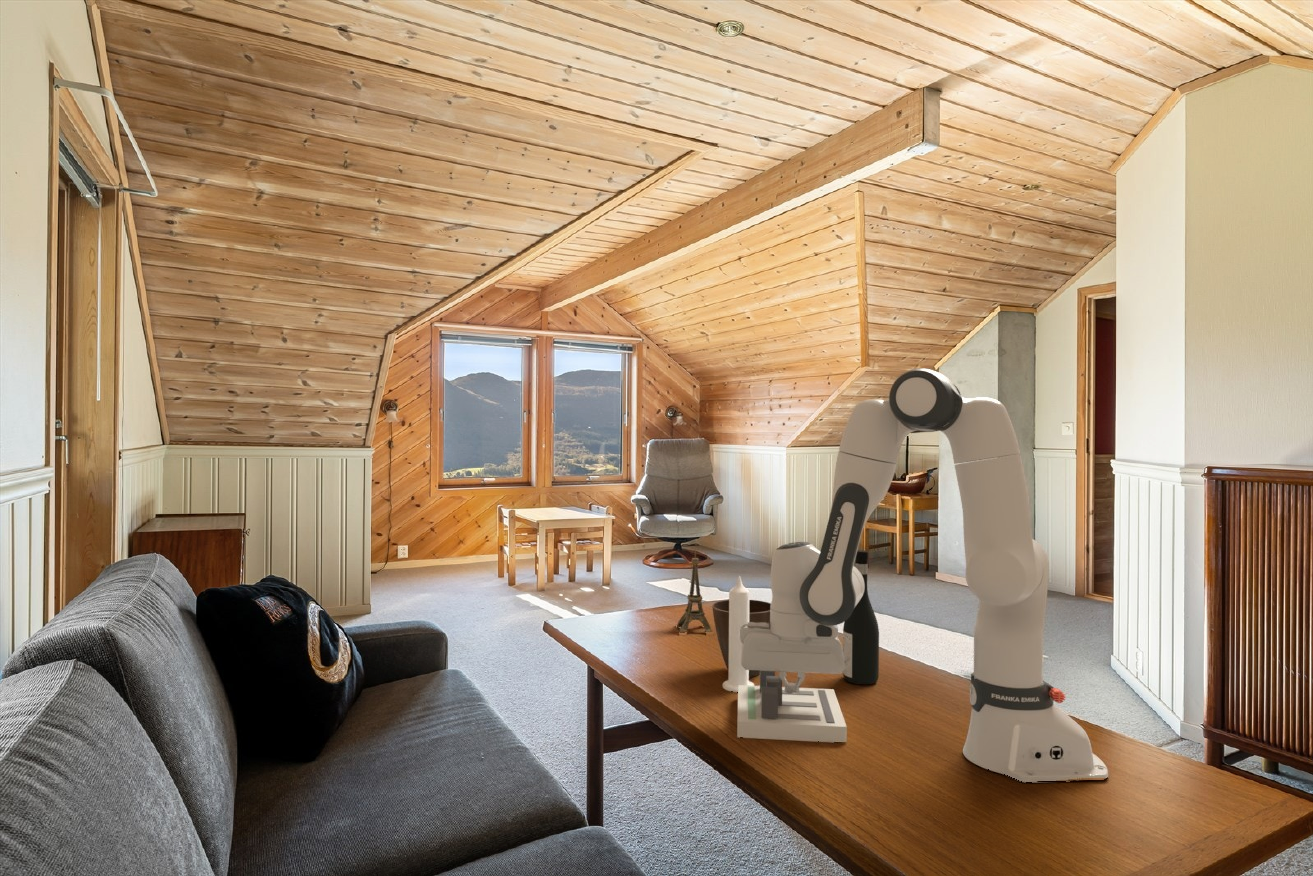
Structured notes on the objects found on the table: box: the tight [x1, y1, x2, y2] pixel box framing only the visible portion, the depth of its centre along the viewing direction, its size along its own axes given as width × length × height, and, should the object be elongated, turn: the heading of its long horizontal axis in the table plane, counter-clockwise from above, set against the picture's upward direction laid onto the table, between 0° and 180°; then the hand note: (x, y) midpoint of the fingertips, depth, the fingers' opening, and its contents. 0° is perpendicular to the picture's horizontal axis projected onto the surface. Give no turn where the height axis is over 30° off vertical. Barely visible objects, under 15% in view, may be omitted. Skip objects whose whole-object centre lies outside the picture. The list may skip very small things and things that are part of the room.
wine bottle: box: [842, 549, 880, 686], centre depth 177 cm, size 8×8×30 cm
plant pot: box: [712, 599, 771, 678], centre depth 182 cm, size 15×15×16 cm
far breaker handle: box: [759, 670, 776, 692], centre depth 160 cm, size 3×4×4 cm
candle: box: [722, 575, 755, 693], centre depth 171 cm, size 7×7×25 cm
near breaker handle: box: [761, 687, 778, 718], centre depth 146 cm, size 3×4×4 cm
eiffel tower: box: [676, 548, 714, 633], centre depth 221 cm, size 11×11×25 cm
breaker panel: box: [736, 685, 848, 743], centre depth 152 cm, size 20×21×3 cm
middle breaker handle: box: [766, 675, 783, 705], centre depth 153 cm, size 3×4×4 cm
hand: (791, 693), depth 152 cm, fingers closed
